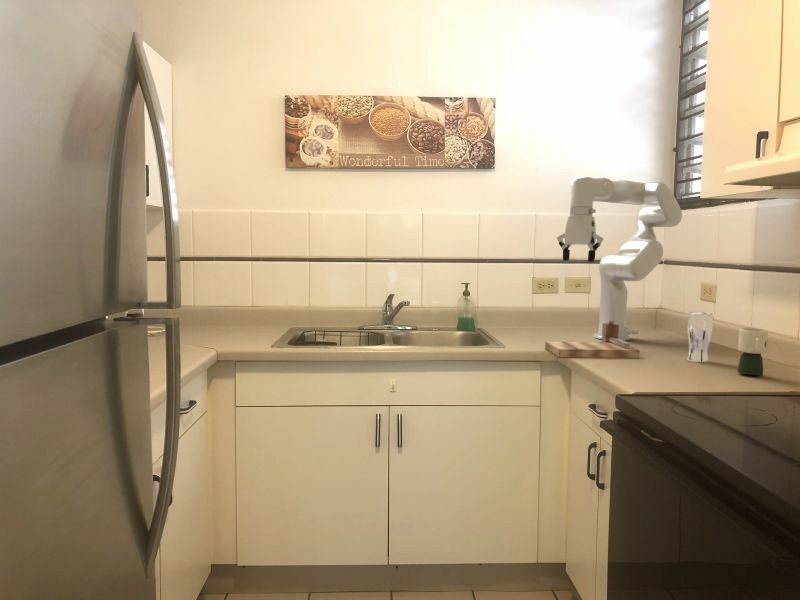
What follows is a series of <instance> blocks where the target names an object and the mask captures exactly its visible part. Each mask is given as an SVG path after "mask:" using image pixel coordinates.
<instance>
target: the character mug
mask: <svg viewBox="0 0 800 600" xmlns="http://www.w3.org/2000/svg"><path fill="white" fill-rule="evenodd" d="M738 331H739V332H738V341H737V342H738V343H737V350H738V351H739V352H742V353H741V355H740V358H739V360H738V361H739V362H738V367H737V373H739V374H743V375H744V374H746V375H750V377H753V376H754V375H755V376H763V375H764V364H763V363H764V361H763V357H762V354H765V353H767V351H768V340H769V329H768V330H767V329H764V328H758V327H757V328H755V327H740V328H739V330H738Z"/></svg>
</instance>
